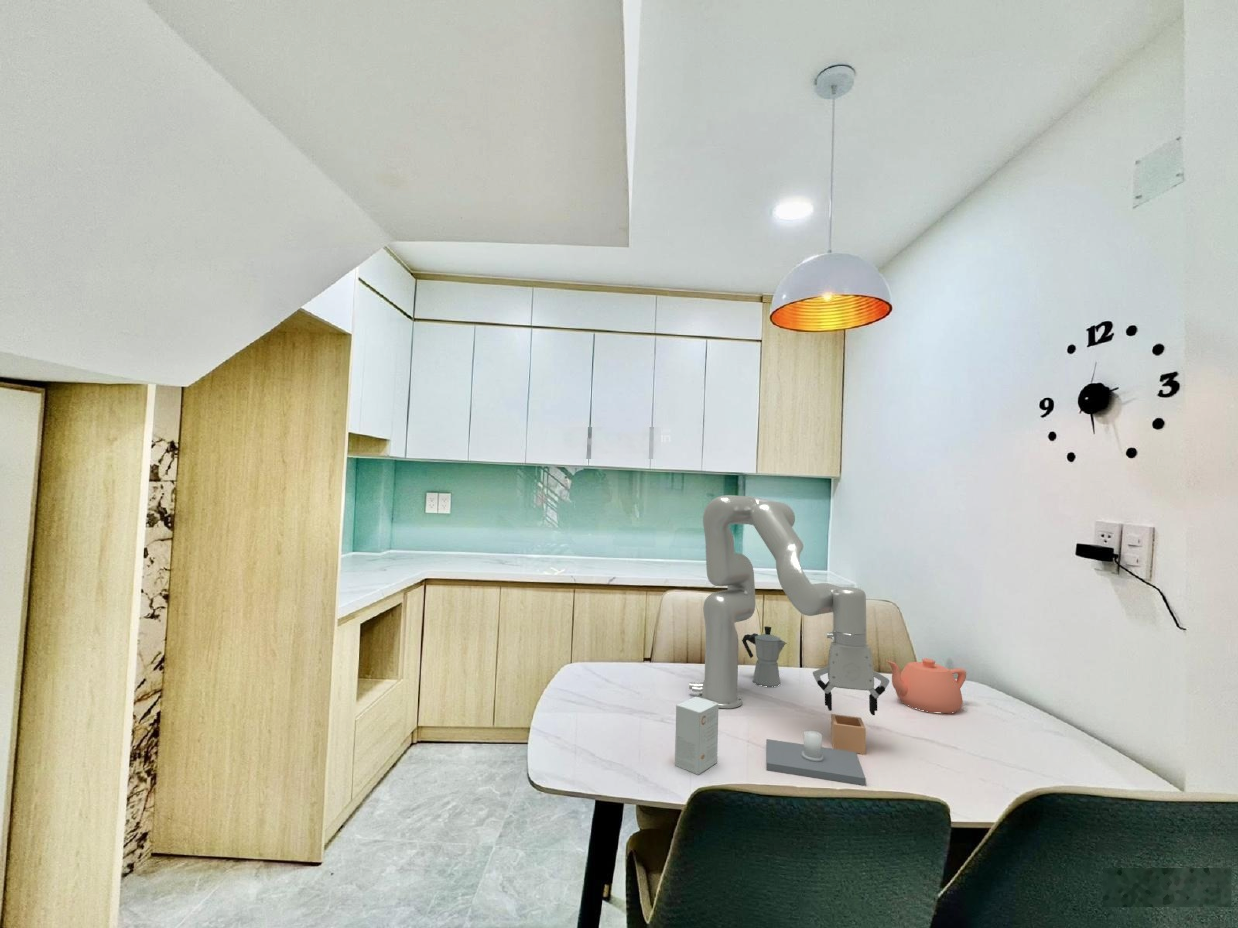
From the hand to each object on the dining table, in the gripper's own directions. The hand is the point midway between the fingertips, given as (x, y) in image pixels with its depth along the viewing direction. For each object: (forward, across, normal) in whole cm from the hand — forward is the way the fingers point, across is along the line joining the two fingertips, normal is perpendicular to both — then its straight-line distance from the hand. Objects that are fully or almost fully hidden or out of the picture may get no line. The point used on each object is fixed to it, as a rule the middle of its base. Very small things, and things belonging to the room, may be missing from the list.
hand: (850, 711), depth 136 cm
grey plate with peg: (+8, -10, -12) cm, 18 cm away
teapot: (+9, +26, +40) cm, 49 cm away
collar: (+8, -1, 0) cm, 9 cm away
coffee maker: (+8, -21, +44) cm, 49 cm away
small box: (+8, -35, -22) cm, 42 cm away
